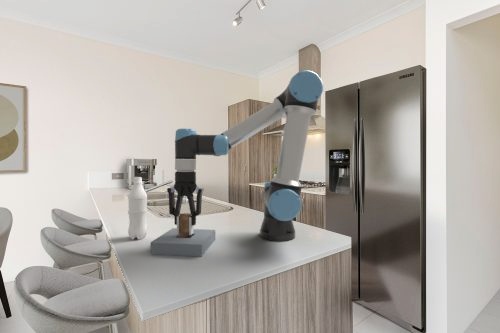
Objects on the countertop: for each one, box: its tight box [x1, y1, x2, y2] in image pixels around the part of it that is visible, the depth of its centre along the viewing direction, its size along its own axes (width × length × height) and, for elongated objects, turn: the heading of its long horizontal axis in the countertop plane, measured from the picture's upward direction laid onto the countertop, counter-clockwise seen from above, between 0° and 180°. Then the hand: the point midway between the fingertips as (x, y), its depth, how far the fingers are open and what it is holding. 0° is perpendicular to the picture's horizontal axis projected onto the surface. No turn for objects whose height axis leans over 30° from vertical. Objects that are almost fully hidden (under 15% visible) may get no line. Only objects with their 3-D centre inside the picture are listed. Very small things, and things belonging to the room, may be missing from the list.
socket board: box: [150, 227, 216, 258], centre depth 94 cm, size 18×18×4 cm
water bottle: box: [127, 176, 148, 241], centre depth 103 cm, size 7×7×25 cm
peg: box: [180, 212, 191, 238], centre depth 94 cm, size 4×4×12 cm
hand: (185, 233), depth 94 cm, fingers closed on peg, 4 cm apart
